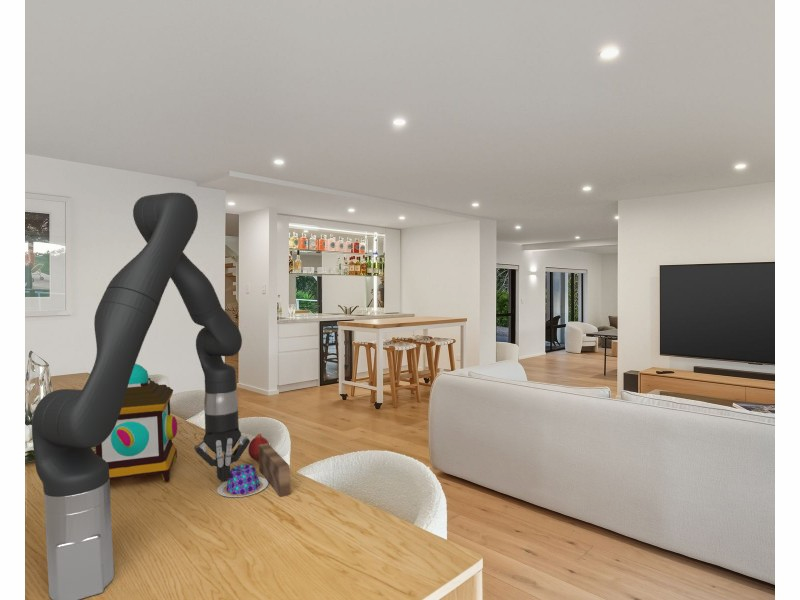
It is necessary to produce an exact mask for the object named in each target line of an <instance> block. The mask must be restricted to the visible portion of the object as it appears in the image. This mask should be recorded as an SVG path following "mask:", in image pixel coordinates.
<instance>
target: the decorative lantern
mask: <svg viewBox="0 0 800 600" xmlns="http://www.w3.org/2000/svg"><path fill="white" fill-rule="evenodd" d="M173 393H174V389H172V388H171V387H170V386H167V384H159V383H157V382H155V380H151V378H150V377H149V372H148V370H147V369H146V368H145V367H143V366H142V365H140V364H138V363H135V365H134V368H133V371H132V374H131V377H130V380H129V384H128V387H127V391H126V394H125V398H124V401H123V405H122V408H121V411H120V414H119V417H118V420H117V423H116V425H115V427H114V429H113V431H112V432H111V434H110V435H109V437H108V438H107V439H106V440H105V441H104V442H102V443H101V444H100V445H98V446H95V447H94V448H95V453H96V454H97V455H98V456H99V457H101V458H102V459H104V460H105V461H106V462H107V464H108V466H109V479H110V481H115V480H121V479H122V480H123V479H130V478H137V477H145V476H153V475H161V476H162V480H163V483H165V484H168V483H169V482H170V477H171V476H170V475H171V467H172V465H173V463H174V462H176V461H177V459H178V453H177V452H178V450H177V448H176V446H175V444H174V443H173V439H175V437H176V436H177V433H178V421H177V419H176V416H175V415H172V414H171V398H172V395H173Z"/></svg>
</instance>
